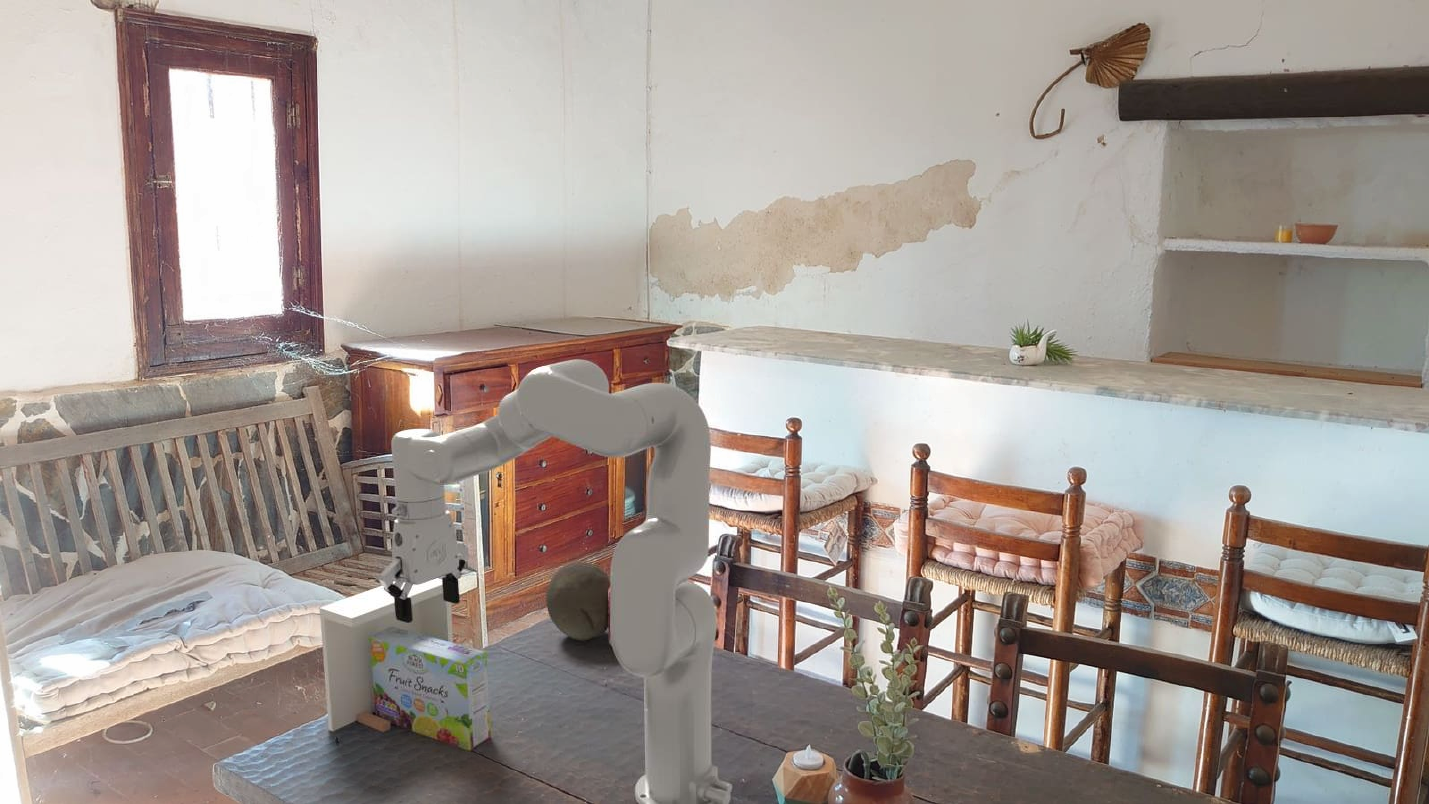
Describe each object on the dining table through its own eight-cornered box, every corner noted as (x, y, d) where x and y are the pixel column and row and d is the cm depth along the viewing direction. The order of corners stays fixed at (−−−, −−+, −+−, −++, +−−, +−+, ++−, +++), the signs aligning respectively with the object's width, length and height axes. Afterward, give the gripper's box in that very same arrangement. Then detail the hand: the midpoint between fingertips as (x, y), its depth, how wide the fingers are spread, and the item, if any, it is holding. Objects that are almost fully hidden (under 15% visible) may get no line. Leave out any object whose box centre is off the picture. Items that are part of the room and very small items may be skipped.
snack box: (372, 721, 176) (367, 635, 174) (397, 708, 181) (392, 624, 179) (469, 752, 166) (465, 662, 163) (493, 737, 171) (489, 649, 168)
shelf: (455, 696, 185) (449, 581, 182) (360, 743, 169) (351, 618, 165) (424, 685, 190) (418, 572, 186) (328, 730, 173) (319, 607, 170)
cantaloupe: (628, 629, 215) (627, 558, 212) (597, 656, 202) (596, 580, 199) (566, 620, 220) (564, 550, 217) (532, 646, 207) (529, 572, 204)
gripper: (392, 524, 158) (400, 633, 161) (478, 498, 172) (484, 599, 175) (360, 517, 162) (368, 624, 165) (446, 492, 177) (453, 591, 179)
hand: (428, 611), depth 170 cm, fingers open, 9 cm apart
